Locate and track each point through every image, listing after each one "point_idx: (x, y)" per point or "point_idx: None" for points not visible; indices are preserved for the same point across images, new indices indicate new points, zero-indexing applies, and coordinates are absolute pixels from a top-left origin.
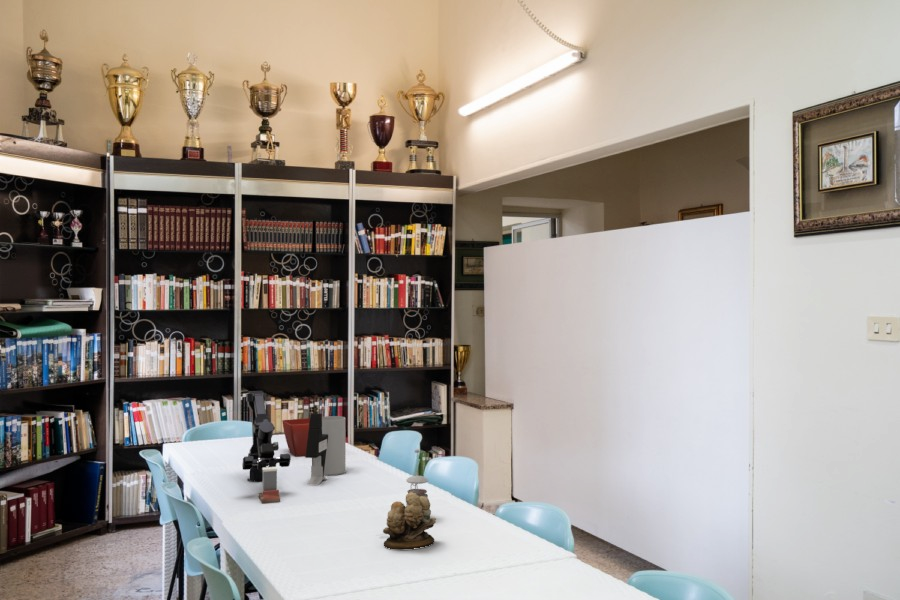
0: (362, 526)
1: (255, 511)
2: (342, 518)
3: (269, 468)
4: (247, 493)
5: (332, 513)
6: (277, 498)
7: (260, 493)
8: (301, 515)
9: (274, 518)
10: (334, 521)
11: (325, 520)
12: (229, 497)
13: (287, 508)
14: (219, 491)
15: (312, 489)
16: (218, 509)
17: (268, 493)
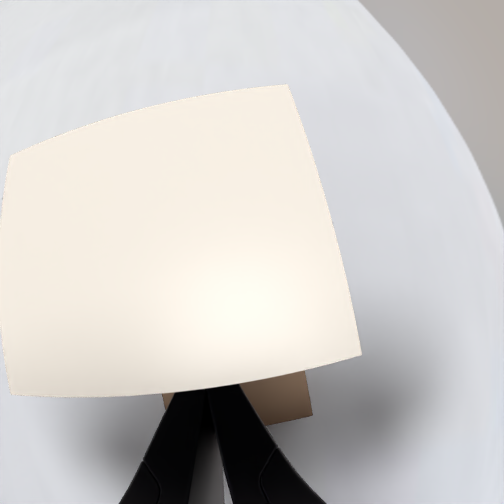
0: (28, 6)
1: (287, 72)
2: (25, 34)
3: (138, 193)
4: (378, 494)
5: (19, 64)
6: None
7: (296, 405)
8: (104, 32)
9: (202, 5)
10: (52, 13)
11: (65, 13)
12: (470, 397)
13: (127, 101)
14: (490, 500)
15: (9, 477)
16: (464, 149)
17: None
